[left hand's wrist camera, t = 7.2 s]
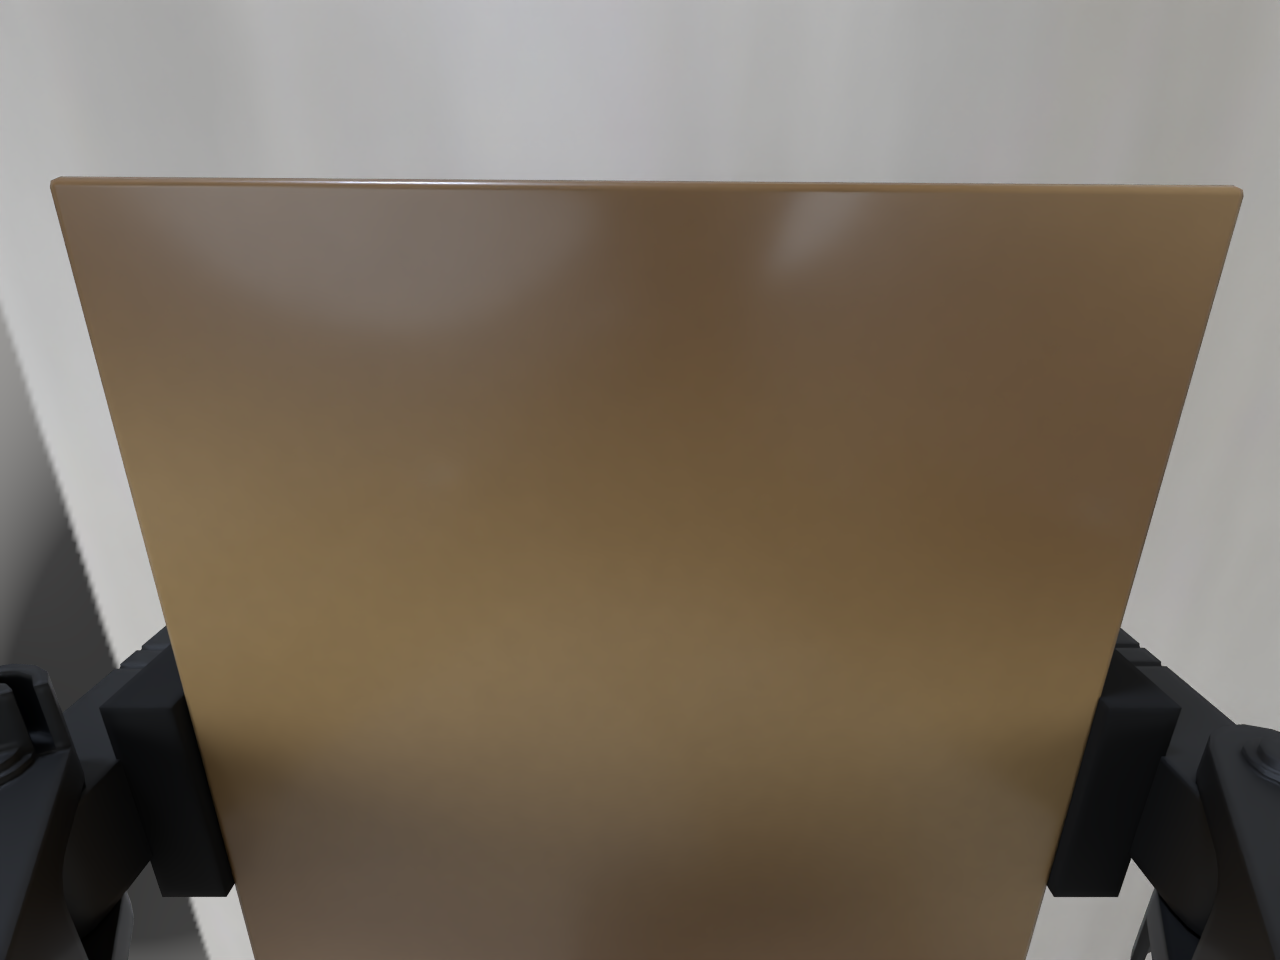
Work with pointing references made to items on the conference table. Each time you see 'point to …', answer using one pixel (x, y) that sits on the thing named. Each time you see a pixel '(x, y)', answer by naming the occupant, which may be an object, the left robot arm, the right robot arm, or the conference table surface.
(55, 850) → the left robot arm
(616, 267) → the thick board
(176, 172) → the conference table surface
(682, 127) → the conference table surface
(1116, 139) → the conference table surface
